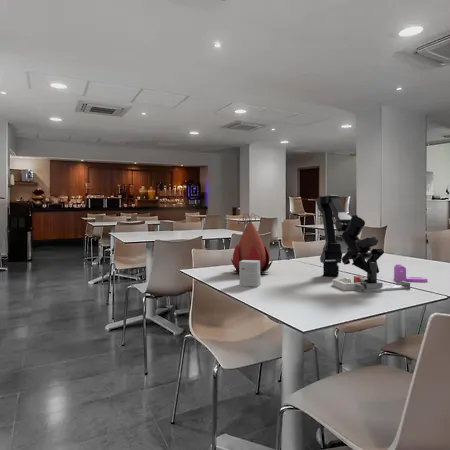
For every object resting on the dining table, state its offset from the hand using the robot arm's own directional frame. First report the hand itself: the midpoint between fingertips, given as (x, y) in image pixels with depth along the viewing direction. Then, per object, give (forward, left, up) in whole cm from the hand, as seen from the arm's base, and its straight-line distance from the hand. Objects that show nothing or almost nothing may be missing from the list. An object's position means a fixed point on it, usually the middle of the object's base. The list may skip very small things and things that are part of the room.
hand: (374, 272), depth 147 cm
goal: (-10, +3, -7) cm, 13 cm away
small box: (-49, -7, -7) cm, 50 cm away
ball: (-11, +3, -5) cm, 12 cm away
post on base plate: (-3, +4, -7) cm, 8 cm away
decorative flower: (-58, +21, -7) cm, 62 cm away
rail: (+3, +4, -7) cm, 9 cm away
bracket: (+15, +27, -7) cm, 31 cm away
